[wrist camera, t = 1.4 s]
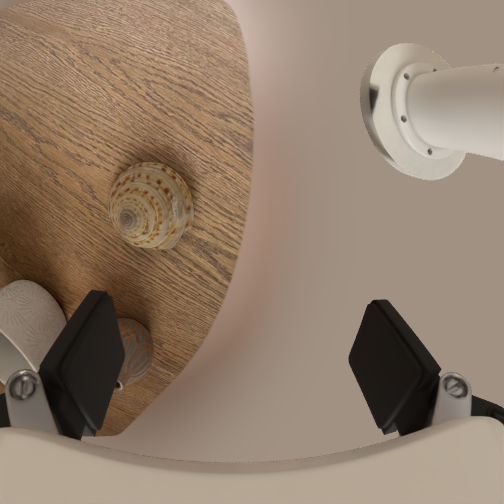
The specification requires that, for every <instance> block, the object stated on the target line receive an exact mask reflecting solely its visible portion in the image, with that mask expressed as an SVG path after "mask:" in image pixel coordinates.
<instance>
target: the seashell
mask: <svg viewBox="0 0 504 504" xmlns="http://www.w3.org/2000/svg"><path fill="white" fill-rule="evenodd" d="M108 213H109V218H110V220H111V223H112V225H113V227H114V229H115V231H116V232H117V233H118V234H119V236H120V237H121V238H122V239H124V240H125V241H126V242H128V243H130V244H132V245H134V246H136V247H142V248H151V249H154V250H163V249H169V248H172V247H174V246H175V245H176V244H177V242H178V241H179V239H180V237H181V235H182V234H183V232H185V231H188V230H190V229H191V228H192V224H193V221H194V207H193V200H192V197H191V192H190V190H189V188H188V186H187V184H186V183H185V181H184V180H183V179H182V178H181V176H180V175H179V174H177V173H176V172H175V171H173V170H172V169H171V168H170V167H168V166H166V165H163V164H160V163H155V162H142V163H137V164H134V165H132V166H130V167H129V168H127V169H126V170H125V171H123V172H122V173H121V174H120V175H119V177H118V178H117V179H116V180H115V182H114V184H113V186H112V188H111V190H110V193H109V198H108Z"/></svg>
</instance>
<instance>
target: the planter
mask: <svg viewBox="0 0 504 504" xmlns="http://www.w3.org/2000/svg"><path fill="white" fill-rule="evenodd" d="M66 324H67V323H66V319H65V316H64V314H63V312H62V310H61V308H60V306H59V305H58V303H57V302H56V300H55V299H54V298H53V296H52V295H51V294H50V293H49V292H48V291H47V290H45V289H44V288H43V287H41V286H40V285H38V284H36V283H34V282H32V281H28V280H18V281H15V282H12V283H10V284H9V285H7V286H5V287H4V288H3V289H1V290H0V381H1V382H3V383H4V384H5V385H6V382H7V380H8V378H9V377H10V376H11V375H12V374H13V373H14V372H16V371H18V370H21V369H31V370H33V371H36V372H38V371H39V369H40V367H39V366H40V364H41V362H42V361H43V359H44V357H45V356H46V354H47V353H48V351H49V350H50V348H51V346H52V345H53V343H54V342H55V340H56V339H57V337H58V336H59V334H60V333H61V331H62V330H63V328H64V327H65V325H66Z"/></svg>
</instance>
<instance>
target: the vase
mask: <svg viewBox="0 0 504 504" xmlns="http://www.w3.org/2000/svg"><path fill="white" fill-rule="evenodd" d="M117 322H118V326H119V330H120V334H121V338H122V342H123V346H124V349H125V360H124V363H123V366H122V368H121V371H120V374H119V377H118V379H117V382H116V385H115V388H114V390H116V391H118V390H121V389H123V388H124V387H125V386H126V385H129V384H131V383H134V382H136V381H138V380H139V379H141V378H142V377H143V376H144V375H145V374H146V372H147V371H148V369H149V367H150V365H151V362H152V359H153V352H154V350H153V342H152V338H151V336H150V334H149V332H148V331H147V329H146V328H145V327H144V326H143V325H142V324H140V323H139V322H137V321H135V320H133V319H129V318H118V319H117Z"/></svg>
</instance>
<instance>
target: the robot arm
mask: <svg viewBox="0 0 504 504" xmlns="http://www.w3.org/2000/svg"><path fill="white" fill-rule="evenodd" d="M391 105H392V112H393V116H394V119H395V123H396V125H397V127H398V129H399V132H400V133H401V135H402V137H403V138H404V140H405V141H406V142H407V144H408V145H409V146H410V147H411V148H412V149H413V150H414V151H416V152H417V153H419V154H420V155H422V156H424V157H428V158H433V159H443V158H445V157H448V156H449V155H451V154H452V153H453V152H454V151H455V150H458V151H463V152H468V153H473V154H478V155H482V156H487V157H491V158H496V159H499V160H503V161H504V63H497V64H485V65H475V66H467V67H459V68H452V69H446V70H439V69H438V68H436V67H435V66H433V65H431V64H427V63H413V64H409V65H407V66H405V67H404V68H402V69H401V70H400V71H399V72H398V74H397V75H396V77H395V79H394V82H393V85H392V91H391ZM124 360H125V349H124V346H123V342H122V338H121V334H120V330H119V326H118V322H117V318H116V313H115V308H114V304H113V299H112V297H111V296H108V293H107V292H106V291H98V290H91V291H90V292H89V293H88V295H87V296H86V297H85V299H84V300H83V302H82V303H81V304H80V306H79V307H78V308H77V310H76V311H75V313H74V314H73V315H72V317H71V318H70V320H69V321H68V322H67V324H66V325H65V327H64V328H63V330H62V331H61V333H60V334H59V336H58V337H57V339H56V340H55V342H54V343H53V345H52V346H51V348H50V350H49V351H48V353H47V354H46V356H45V357H44V359H43V361H42V362H41V364H40V366H39V367H40V369H39V371H38V372H36V371H33V370H31V369H21V370H18V371H16V372H14V373H13V374H12V375H11V376H10V377H9V378H8V380H7V382H6V385H5V393H3V394H1V395H0V504H504V408H502V407H501V406H499V405H497V404H494V403H492V402H489V401H486V400H484V399H481V398H478V397H476V396H473V395H472V390H471V386H470V384H469V382H468V381H467V380H466V378H464V377H463V376H462V375H460V374H458V373H454V372H447V373H445V374H443V375H442V376H441V378H440V376H439V375H438V374H439V372H440V371H441V368H440V367H439V365H438V364H437V362H436V361H435V359H434V358H433V357H432V355H431V354H430V353H429V351H428V350H427V349H426V347H425V346H424V345H423V343H422V342H421V341H420V340H419V338H418V337H417V336H416V334H415V333H414V332H413V331H412V329H411V328H410V327H409V325H408V324H407V323H406V322H405V321H404V319H403V318H402V317H401V316H400V314H399V313H398V312H397V311H396V309H395V308H394V307H393V306H392V305H391V303H390V302H389V301H388V300H373V301H372V302H371V303H370V304H368V305H367V308H366V310H365V314H364V316H363V320H362V322H361V325H360V328H359V331H358V333H357V336H356V339H355V341H354V344H353V347H352V349H351V352H350V354H349V364H350V366H351V368H352V371H353V373H354V375H355V377H356V380H357V382H358V384H359V386H360V388H361V391H362V393H363V395H364V397H365V400H366V401H367V404H368V406H369V408H370V411H371V413H372V415H373V418H374V420H375V422H376V425H377V426H378V428H380V429H382V431H383V433H384V435H385V434H389V433H392V432H396V430H398V432H399V436H398V438H395V439H392V440H388V441H385V442H382V443H378V444H374V445H370V446H367V447H362V448H358V449H354V450H349V451H345V452H340V453H335V454H329V455H323V456H317V457H310V458H302V459H294V460H284V461H271V462H252V463H218V462H197V461H184V460H174V459H166V458H158V457H151V456H145V455H139V454H134V453H129V452H124V451H119V450H115V449H110V448H106V447H102V446H97V445H93V444H90V443H86V442H83V441H81V437H82V434H87V435H90V436H94V437H95V434H96V431H97V430H100V429H101V427H102V425H103V421H104V418H105V415H106V412H107V409H108V406H109V403H110V400H111V397H112V394H113V391H114V388H115V385H116V382H117V379H118V377H119V374H120V371H121V368H122V366H123V363H124Z"/></svg>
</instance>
